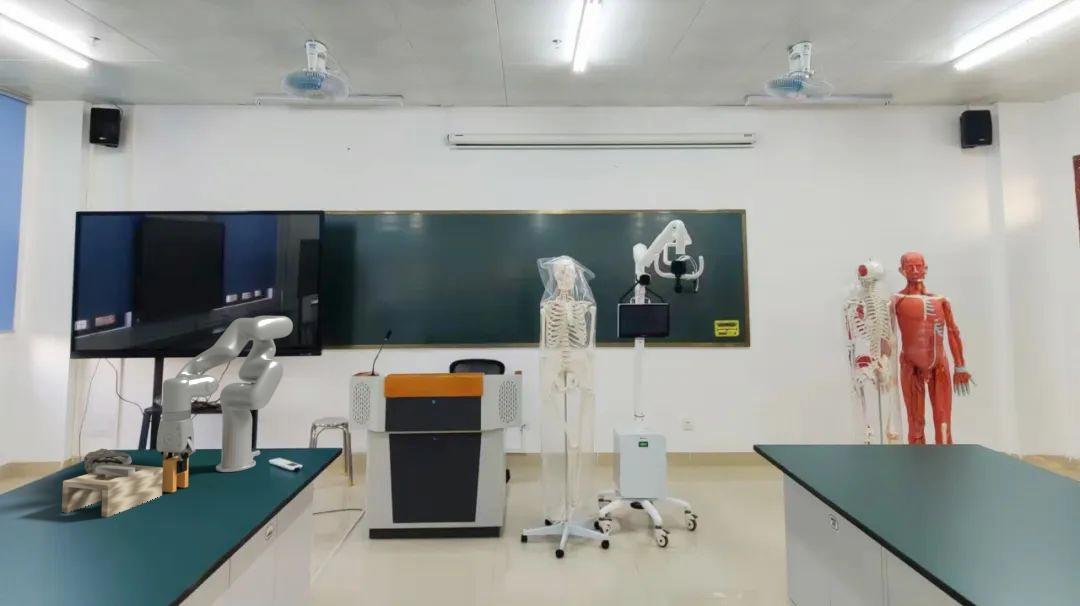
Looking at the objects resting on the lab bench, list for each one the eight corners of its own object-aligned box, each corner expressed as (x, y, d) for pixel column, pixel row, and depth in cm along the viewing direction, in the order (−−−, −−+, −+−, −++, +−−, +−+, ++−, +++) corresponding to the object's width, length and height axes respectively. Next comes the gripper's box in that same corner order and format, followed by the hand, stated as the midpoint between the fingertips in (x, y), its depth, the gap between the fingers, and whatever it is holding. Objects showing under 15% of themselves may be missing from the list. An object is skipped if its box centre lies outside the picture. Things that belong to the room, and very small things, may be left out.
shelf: (120, 492, 151) (121, 457, 152) (161, 496, 149) (163, 461, 149) (61, 512, 136) (63, 474, 136) (107, 517, 133) (108, 478, 133)
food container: (141, 483, 159) (142, 454, 159) (123, 490, 153) (124, 459, 153) (108, 482, 160) (109, 452, 161) (89, 488, 154) (90, 458, 154)
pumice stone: (75, 473, 168) (76, 451, 168) (117, 464, 178) (118, 443, 179) (88, 481, 161) (89, 457, 161) (132, 471, 171) (133, 449, 171)
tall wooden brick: (177, 485, 157) (178, 455, 157) (188, 486, 156) (188, 456, 157) (162, 491, 152) (162, 460, 152) (172, 492, 151) (173, 461, 151)
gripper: (144, 417, 152) (143, 473, 152) (188, 419, 149) (186, 477, 149) (166, 412, 160) (165, 466, 159) (208, 414, 157) (207, 469, 156)
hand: (175, 471), depth 154 cm, fingers closed on tall wooden brick, 4 cm apart
